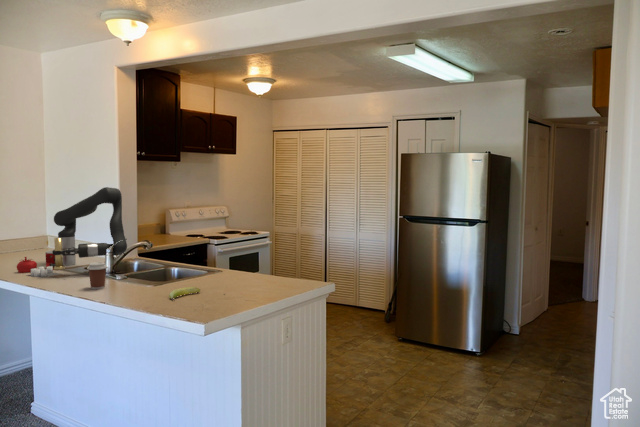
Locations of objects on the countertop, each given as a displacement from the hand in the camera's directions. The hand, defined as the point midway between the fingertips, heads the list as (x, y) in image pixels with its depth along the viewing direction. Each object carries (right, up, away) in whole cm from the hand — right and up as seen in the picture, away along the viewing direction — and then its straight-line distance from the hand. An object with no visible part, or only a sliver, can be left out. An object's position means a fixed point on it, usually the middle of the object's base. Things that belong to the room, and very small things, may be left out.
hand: (52, 252), depth 266 cm
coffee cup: (+33, -16, -21) cm, 42 cm away
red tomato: (-23, -13, +15) cm, 30 cm away
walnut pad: (+2, -14, +2) cm, 14 cm away
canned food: (-12, -12, +24) cm, 29 cm away
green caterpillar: (+80, -18, -38) cm, 91 cm away
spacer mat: (-8, -13, +6) cm, 17 cm away
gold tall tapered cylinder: (+2, -9, +2) cm, 10 cm away
